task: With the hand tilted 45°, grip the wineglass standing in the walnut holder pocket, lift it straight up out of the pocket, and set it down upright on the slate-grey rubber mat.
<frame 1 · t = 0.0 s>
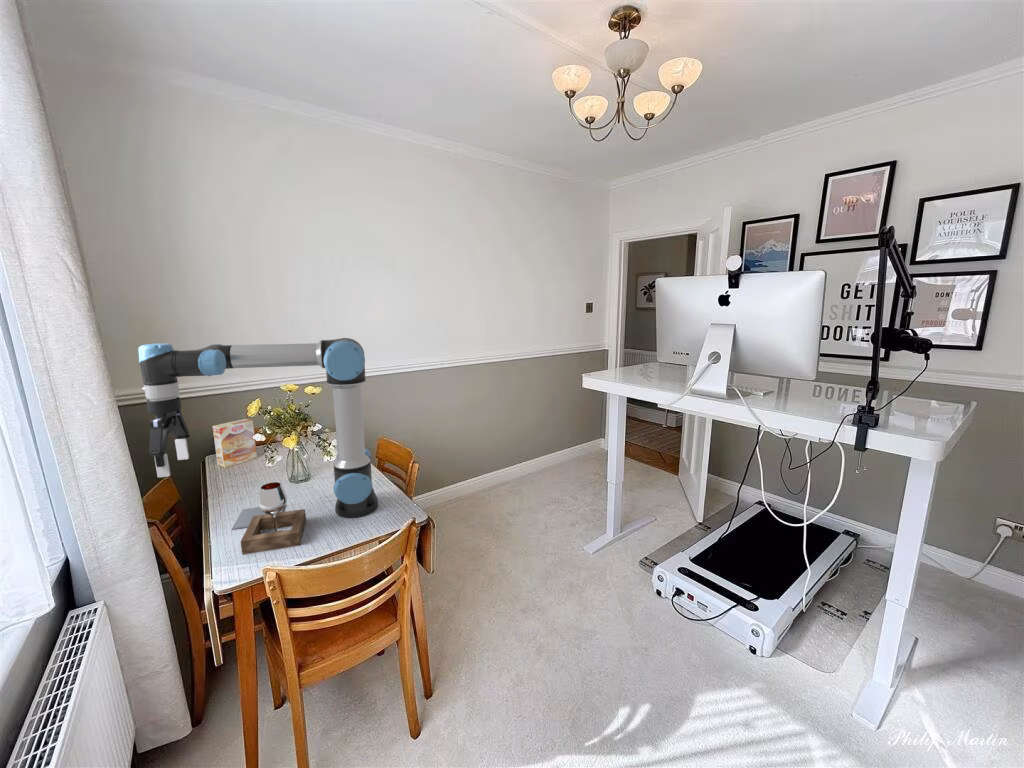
hand: (174, 467, 123), 28 cm above the table, tool pointing down, fingers open, 13 cm apart
wineglass: (276, 536, 138), resting in holder
holder: (276, 536, 138), on the table
mat: (260, 516, 150), on the table
coffeecake box: (238, 462, 200), on the table
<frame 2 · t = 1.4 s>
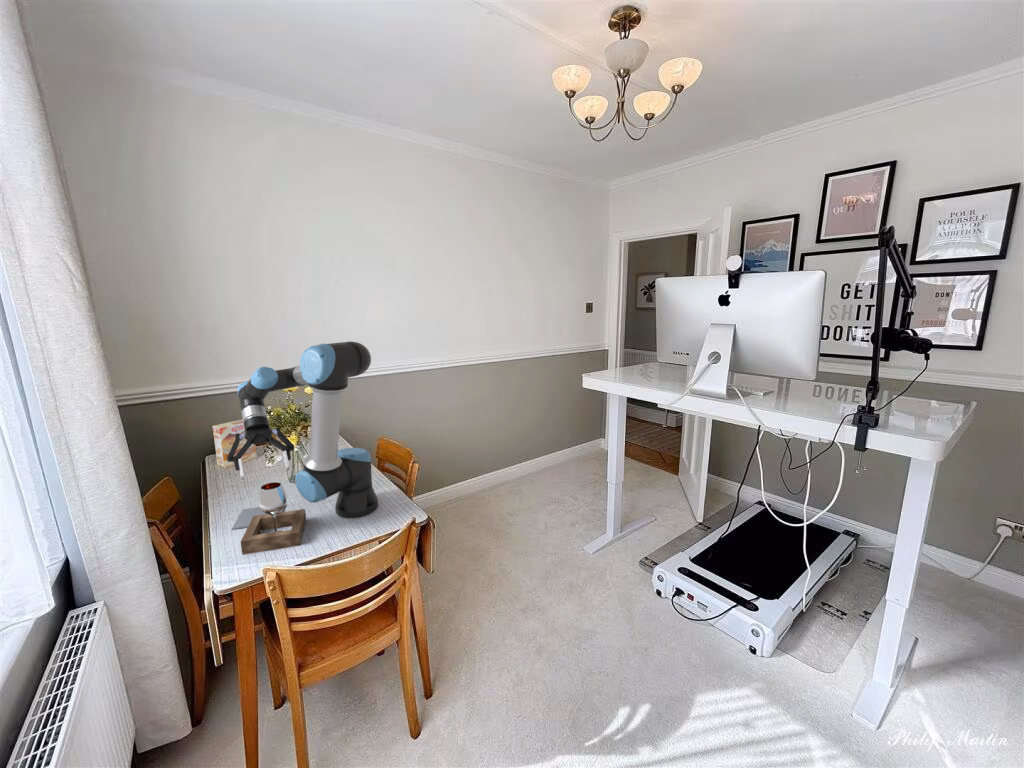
hand: (266, 473, 142), 19 cm above the table, tool tilted 45°, fingers open, 13 cm apart
nothing on the table moved.
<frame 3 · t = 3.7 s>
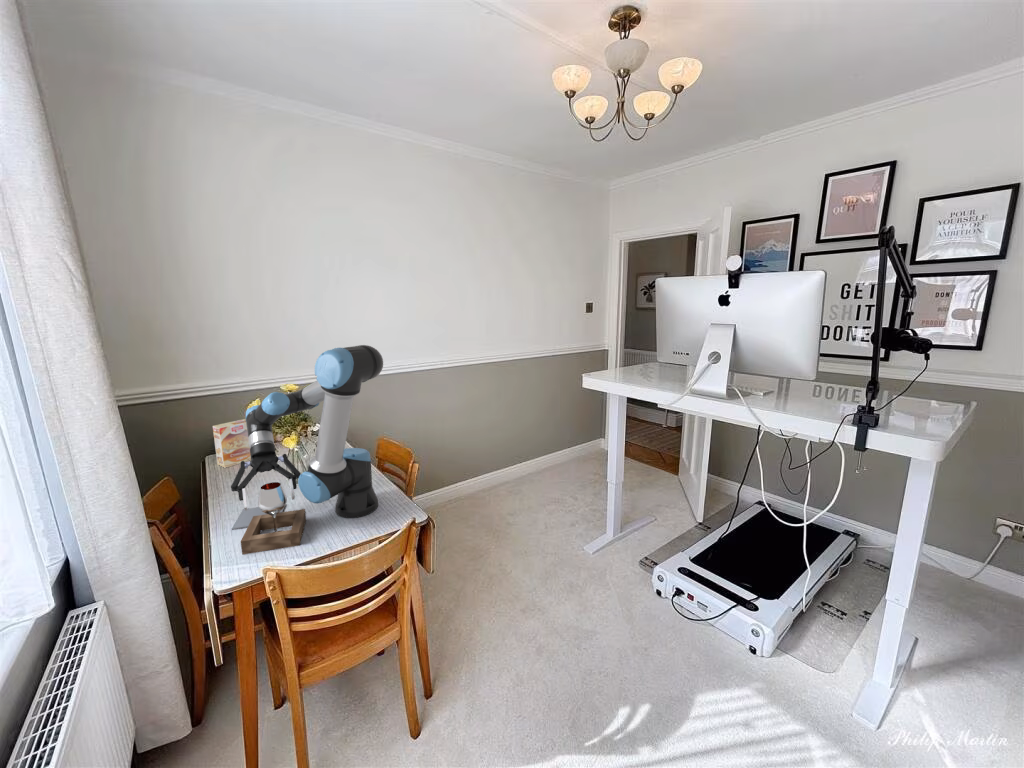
hand: (270, 503, 136), 11 cm above the table, tool tilted 45°, fingers open, 13 cm apart
nothing on the table moved.
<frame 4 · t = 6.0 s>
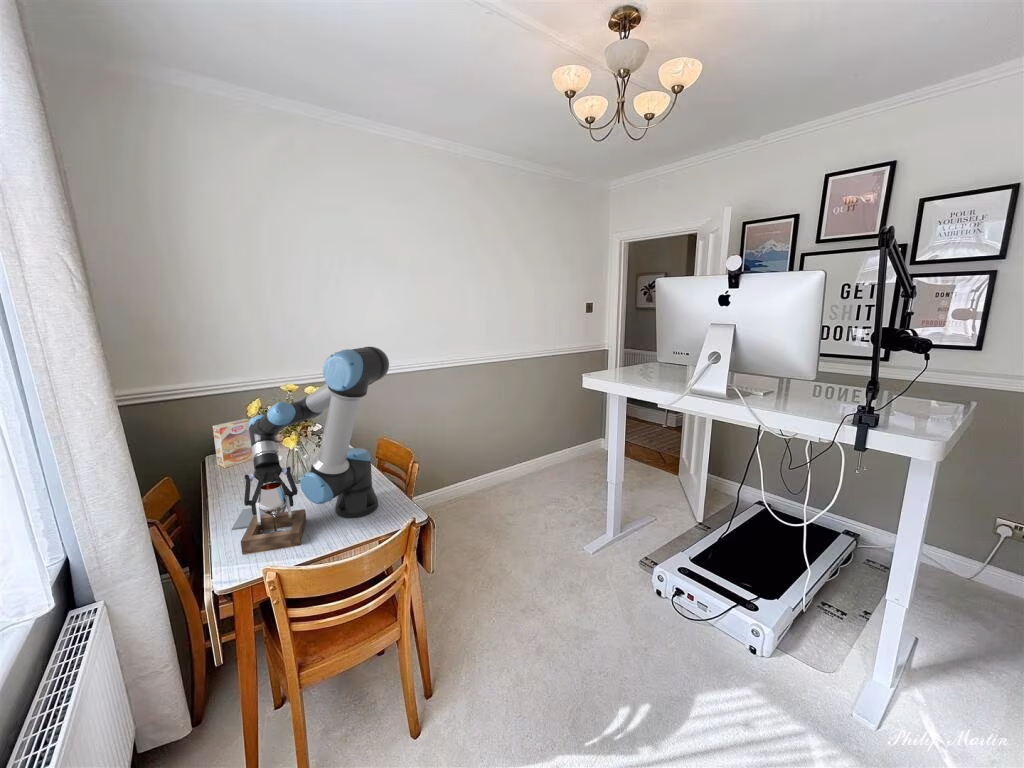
hand: (275, 519, 133), 8 cm above the table, tool tilted 45°, fingers closed on wineglass, 8 cm apart
wineglass: (276, 536, 138), resting in holder, touching gripper
everything else where it was.
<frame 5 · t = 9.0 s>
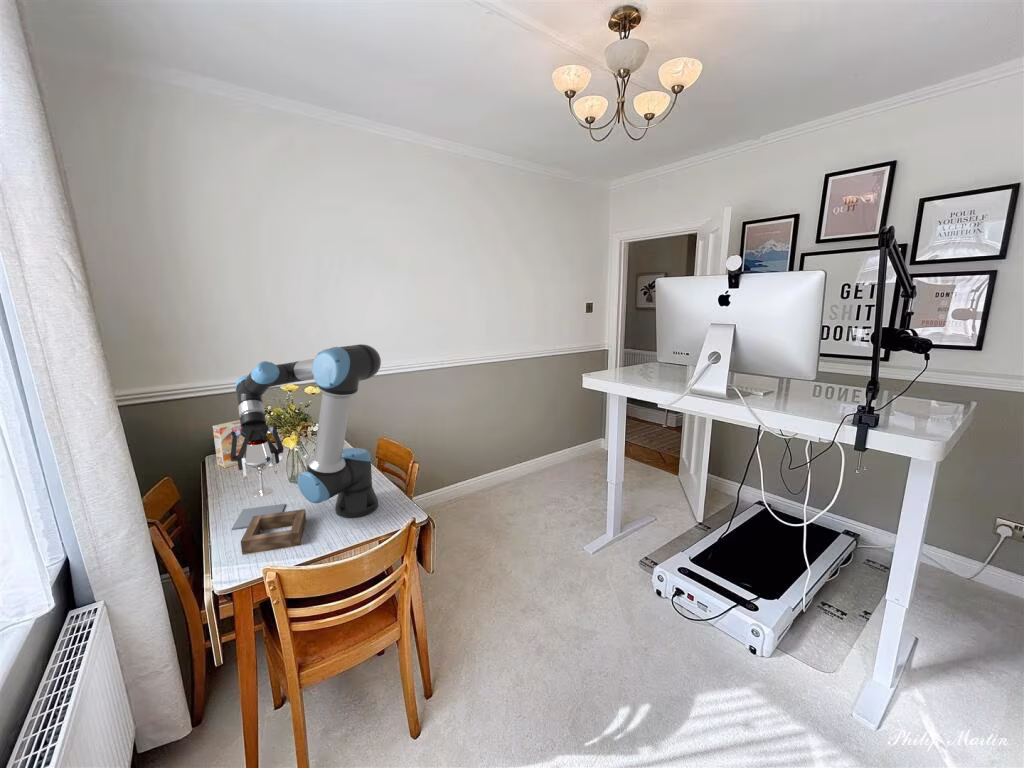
hand: (260, 475, 136), 20 cm above the table, tool tilted 45°, fingers closed on wineglass, 8 cm apart
wineglass: (262, 493, 141), point 13 cm above the table, touching gripper
everything else where it was.
when the fingers open (10 cm above the table, at t = 12.4 s): wineglass drops 1 cm, resting on mat.
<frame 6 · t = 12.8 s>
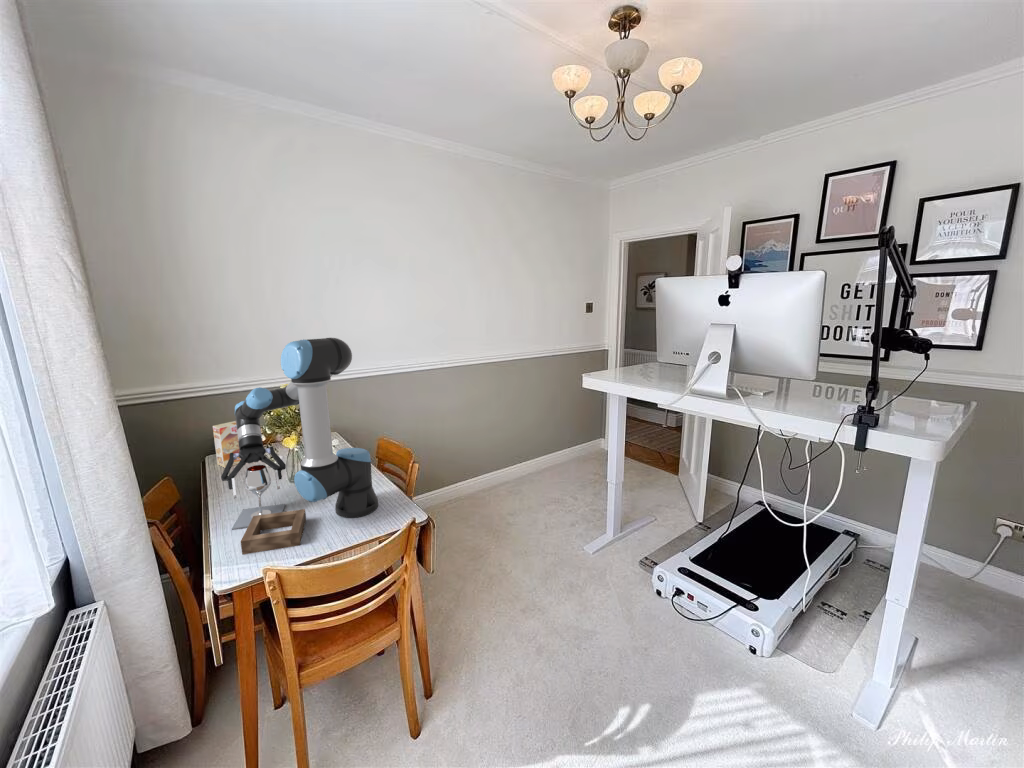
hand: (257, 492, 146), 11 cm above the table, tool tilted 45°, fingers open, 12 cm apart
wineglass: (261, 515, 150), resting on mat
everything else where it was.
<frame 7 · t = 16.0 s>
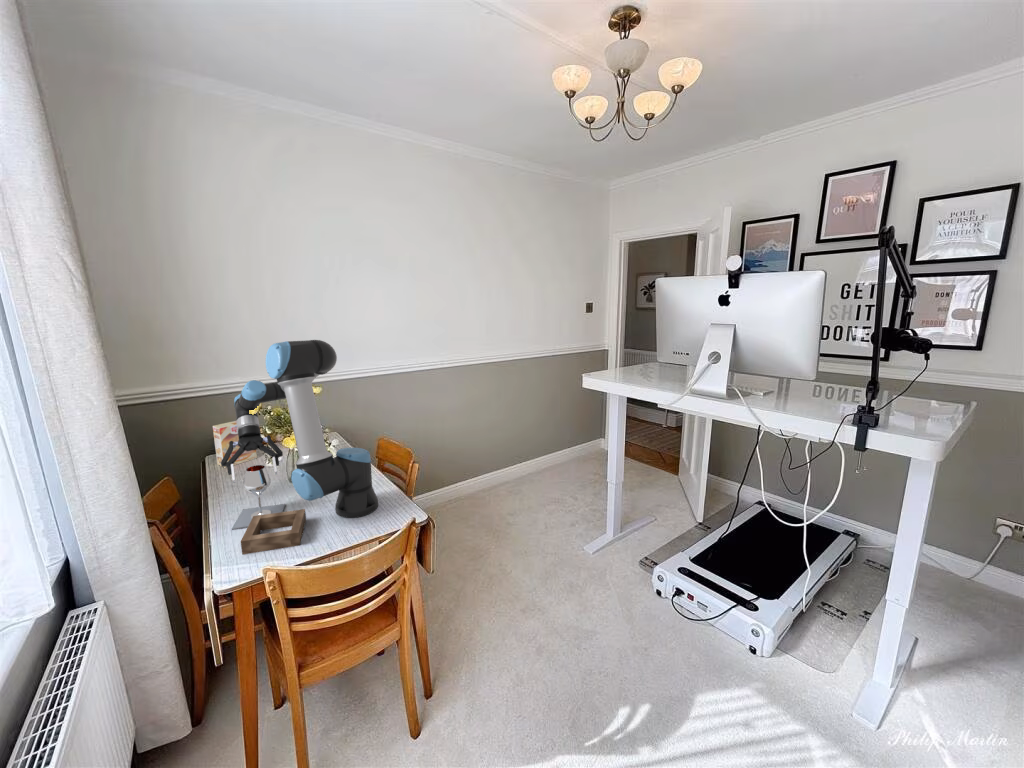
hand: (255, 477, 157), 11 cm above the table, tool tilted 45°, fingers open, 13 cm apart
nothing on the table moved.
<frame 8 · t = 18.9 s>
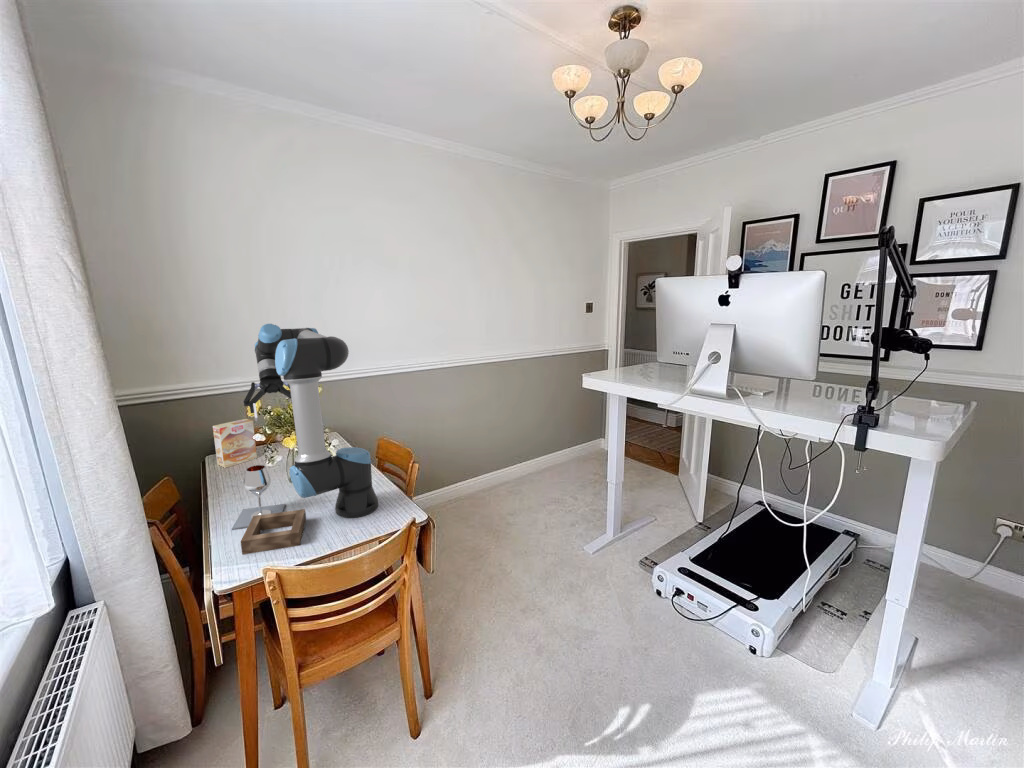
hand: (277, 417, 160), 33 cm above the table, tool tilted 45°, fingers open, 13 cm apart
nothing on the table moved.
at the end: wineglass inside the target area on the mat (0.4 cm from its centre), point 0.4 cm above the mat's base; wineglass tilted 0°; wineglass touching mat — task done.
